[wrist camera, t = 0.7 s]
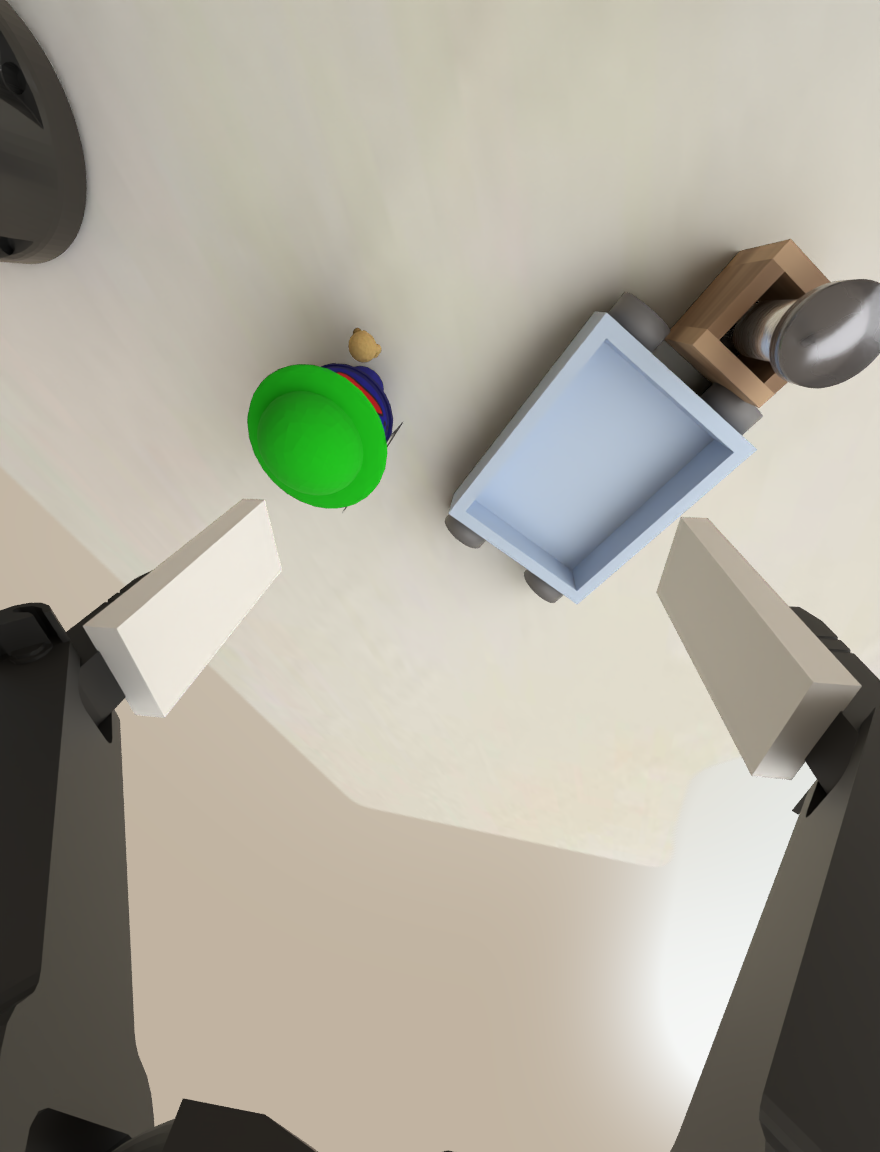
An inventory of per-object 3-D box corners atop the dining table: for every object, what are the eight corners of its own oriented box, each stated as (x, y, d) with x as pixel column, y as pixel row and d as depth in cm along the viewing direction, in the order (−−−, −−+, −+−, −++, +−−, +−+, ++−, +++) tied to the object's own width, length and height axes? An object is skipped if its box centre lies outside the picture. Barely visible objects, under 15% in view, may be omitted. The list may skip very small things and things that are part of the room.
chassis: (443, 507, 40) (436, 528, 36) (613, 287, 30) (628, 285, 26) (558, 588, 43) (563, 616, 39) (749, 414, 32) (781, 428, 29)
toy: (397, 491, 40) (345, 578, 27) (306, 456, 39) (209, 528, 26) (440, 355, 33) (397, 386, 21) (332, 311, 33) (220, 315, 20)
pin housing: (662, 338, 31) (692, 345, 26) (739, 250, 28) (790, 238, 23) (720, 391, 32) (759, 407, 27) (800, 313, 29) (860, 315, 24)
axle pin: (703, 339, 27) (760, 349, 21) (771, 267, 24) (857, 254, 18) (751, 384, 28) (819, 407, 22) (820, 318, 25) (917, 323, 19)
